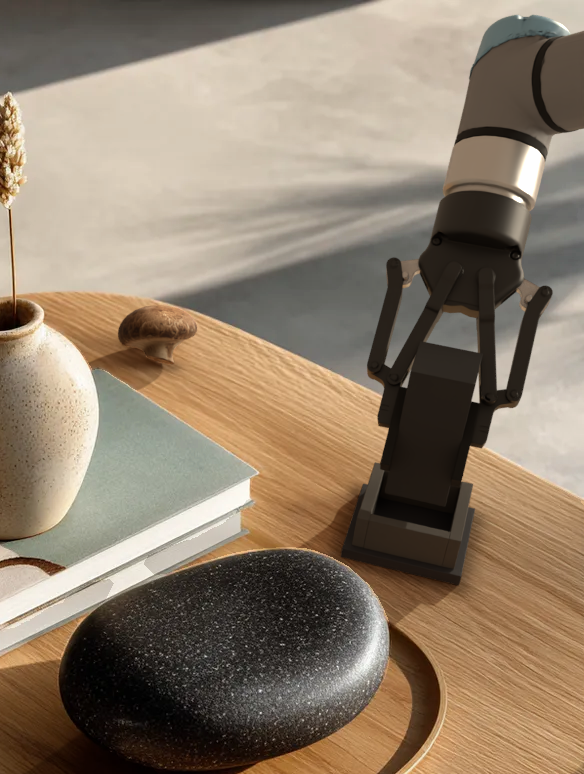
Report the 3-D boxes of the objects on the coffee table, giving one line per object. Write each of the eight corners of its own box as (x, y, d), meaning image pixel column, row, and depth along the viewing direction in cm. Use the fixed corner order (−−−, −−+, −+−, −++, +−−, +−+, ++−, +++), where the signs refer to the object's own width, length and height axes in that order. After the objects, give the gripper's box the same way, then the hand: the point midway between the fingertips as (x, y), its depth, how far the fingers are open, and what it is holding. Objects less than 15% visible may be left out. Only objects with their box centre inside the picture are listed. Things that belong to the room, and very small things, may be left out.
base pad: (473, 517, 118) (482, 480, 116) (459, 585, 111) (468, 548, 109) (361, 491, 121) (368, 455, 119) (340, 557, 113) (347, 520, 111)
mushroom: (185, 359, 132) (175, 296, 132) (112, 373, 135) (102, 311, 135) (211, 360, 139) (202, 301, 139) (141, 373, 143) (132, 315, 143)
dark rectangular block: (452, 473, 114) (482, 353, 107) (444, 507, 110) (475, 384, 103) (394, 460, 115) (420, 340, 108) (384, 493, 111) (410, 371, 104)
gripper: (592, 240, 111) (529, 508, 109) (377, 203, 116) (312, 459, 114) (607, 207, 104) (540, 493, 102) (377, 168, 109) (307, 441, 106)
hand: (420, 474), depth 108 cm, fingers closed on dark rectangular block, 5 cm apart
